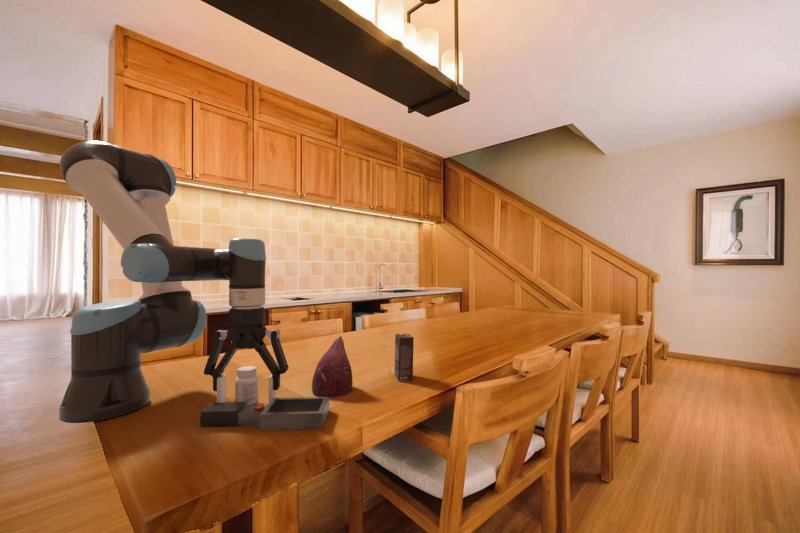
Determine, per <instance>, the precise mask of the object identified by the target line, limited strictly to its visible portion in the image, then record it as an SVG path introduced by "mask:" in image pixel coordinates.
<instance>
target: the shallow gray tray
mask: <svg viewBox="0 0 800 533" xmlns="http://www.w3.org/2000/svg"><path fill="white" fill-rule="evenodd" d="M329 411H330V397H321V396H308V397H306V396H304V397H300V396H299V397H276V398H273V399H272V400H271V401H270V402H269V401H268V403H267V404H265V403H262V402H260V403H259V402H258V404H256V405H246V402H235V401H231V402H230V401H229V402H227V401H226V402H217V401H216V402H210V403H209V404H208V405H207V406H206V407H204V408H203V409H201V411H200V412H199V428H220V427H221V428H222V427H223V428H224V427H227V428H228V427H238V426H259V428H258V429H259V431H279V430H280V431H283V430H285V431H286V430H287V431H289V430H291V431H292V430H322V429H324V426H325V424H326V421H327V417H328V415H329Z"/></svg>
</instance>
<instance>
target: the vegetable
mask: <svg viewBox="0 0 800 533" xmlns="http://www.w3.org/2000/svg"><path fill="white" fill-rule="evenodd" d="M352 372H353V371H352V366H351V363H350V360H349V358H348V355H347V352H346V349H345V342H344V340H343V337H342V335H339V337H337V338H336V339H334V340H333V343H332V344H331V345H330V346H329V348H328V350H326V352H325V353H324V354H323V355H322V357H320V359H319V361H318V363H317V365H316V367H315V370H314V373H313V376H312V381H311V391H312V394H313V395H314V397H329V398H335V397H341V396H346V395H349V394H351V393H352V392H353V386H354V385H353V373H352Z"/></svg>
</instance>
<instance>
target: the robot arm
mask: <svg viewBox="0 0 800 533" xmlns="http://www.w3.org/2000/svg"><path fill="white" fill-rule="evenodd" d="M59 171H60V174H61V177H62V179H63V180H64V182H66V184H67V185H68V187H69V188H70V189H71V190H72V191H74V192H75V193H77V194H80V195H82V196H83V198H84V199H85V200H86V202H87V203H88V204H89V205H90V207H91V208H92V210H93V211H94V212H95V214H96V215H97V216H98V217H99V218H100V219H99V220H101V221H102V223H103V224H104V225H105V226H106V229H108V230H109V232H110V233H111V234H112V236H113V237H114V238H115V240H116V241H117V242H118V244H119V245H120V246H121V248H122V249H123V252H122V254H121V258H120V266H121V268H122V273H123V275H124V277H125V278H126V279H128V280H129V281H130V282H131V281H132V282H134V283H141V287H142V295H141V296H139V298H138V299H121V300H112V301H111V300H110V301H104V302H100V303H93V304H90V305H86V306H83V307H80V308H78V309H77V310H76V311H74V313H73V314H72V319H71V329H70V330H69V331H70V333H69V334H70V336H71V338H70V340H71V343H70V344H71V345H70V348H71V350H70V355H71V356H70V358H71V362H70V363H71V366H70V367H71V371H70V372H71V373H70V375H71V376H70V382H69V383H68V386H67V388H66V391H65V393H64V396H63V398H62V402H61V403H60V405H59V406H58V407H59V408H58V419H59V421H61V422H63V423H66V424H81V423H82V424H84V423H92V422H98V421H104V420H110V419H113V418H117V417H121V416H124V415H127V414H130V413H132V412H135V411H137V410H140V409H141V408H143V407H145V406H147V405H148V404H149V402H150V400H151V391H150V388H149V387H148V383H147V381H146V378H145V375H144V373H143V371H142V368H141V367H142V366H141V364H142V363H141V361H142V360H141V358H142V355H143V354H147V353H151V352H152V353H153V352H155V351H156V352H158V351H162V350H165V349H171V348H181V347H183V346H184V345H189V344H191V343H194V342H195V341H197V340H198V339H199V338H200V337H201V335H202V334H203V331H204V330H205V328H206V325H207V310H206V308H205V306H204V305H203V304H202V302H201V301H200V300H197V299H193V296H192V293H191V291H190V290H189V289H188V288H185V287H184V286H183V283H182V282H191V281H192V282H201V281H202V282H203V281H204V282H205V281H206V282H207V281H210V282H211V281H229V282H228V283H229V285H228V288H229V289H228V305H229V306H230V307H231V308H229V310H228V329H227V330H224V329H218V330H217V331H214V332H213V344H212V346H211V349H210V352H209V355H208V358H207V361H206V364H205V366H204V370H203V374H204V375H205V376H211V377H212V391H213V392H216V403H217V402H227V401H226V400H227V374H224V371H225V369H226V367H227V366H228V365H229V363H230V362H231V360H232V358H233V356H234V355H235V353H236V352H237V351H238V350H242V349H243V350H244V349H248V350H253V349H254V350H255V352H256V353H258V355H259V357H260V358H261V360H262V361H263V363H264V364H265V366H266V367H267V369H268V371H269V372H270V375H269V376H268V403H269V402H270V401H271V400H272V399H273V398H277V396H276V394H277V392H276V391H278V390H279V389H280V387H281V375H282V374H286V372H287V371H288V370H289V365H288V360H287V359H286V355H285V352H284V349H283V346H282V344H281V340H280V330H279V329H277V328H276V329H272V330H271V329H268V328H266V308H265V307H264V305H266V261H267V256H266V244H265V242H264V241H263V240H262V239H258V238H241V237H240V238H239V237H237V238H232V239H230V240H229V244H228V248H213V247H212V248H211V247H210V248H209V247H193V246H179V245H174V241H173V236H172V231H171V227H170V226H171V225H170V222H169V218H168V212H167V208H166V205H168V204H169V202H170V201H171V198H172V196H173V195H174V194H175V192H176V186H177V178H176V174H175V170H174V169H173V167H172V166H171V165H170V164H169V162H167V161H166V160H164V159H162V158H159V157H156V156H155V155H152V154H150V153H142V152H140V151H136V150H132V149H129V148H125V147H122V146H120V145H119V146H118V145H115V144H113V143H109V142H105V141H101V140H84V141H80V142H78V143H74V144H73V145H71V146H69V147H68V148H66V150H65V151H64V152H63V154H62V155H61V158H60V160H59ZM266 336H267V337H268V340H269V341H270V343H271V347H272V350H273V354H274V356H275V358H274V357H273V355H272V354H271V352H270V351H269V349H268V348H267V345H266V343H265V341H264V338H265V337H266ZM227 337H228V339H229V340H230V342H231V343H230V345H229V346H228V347H227V350H226V352H225V353H224V355H223V356H222V358H221V360H220V361H219V363H218V359H219V357H220V355H221V351H222V348H223V345H224V343H225V340H226V338H227ZM275 359H276V360H275ZM217 363H218V364H217ZM216 365H217V366H216Z"/></svg>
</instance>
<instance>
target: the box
mask: <svg viewBox="0 0 800 533" xmlns="http://www.w3.org/2000/svg"><path fill="white" fill-rule="evenodd" d="M394 337H395V338H394V373H393V375H394V376H395V377H396V379H397V381H399V382H401V381H402V382H405V381H413V380H414V376H413V375H414V336H412V335H411V334H409V333H395V335H394Z"/></svg>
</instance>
